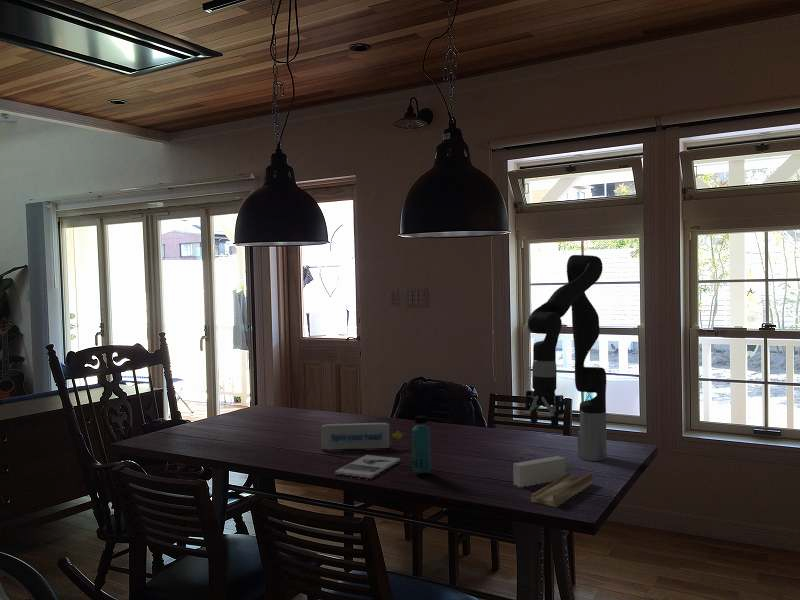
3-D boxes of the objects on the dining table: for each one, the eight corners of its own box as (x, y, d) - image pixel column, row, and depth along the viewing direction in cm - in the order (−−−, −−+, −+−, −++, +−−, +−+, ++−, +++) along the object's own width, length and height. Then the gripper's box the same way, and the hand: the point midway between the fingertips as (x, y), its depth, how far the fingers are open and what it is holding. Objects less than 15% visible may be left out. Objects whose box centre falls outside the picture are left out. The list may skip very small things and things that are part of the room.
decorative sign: (321, 451, 253) (320, 426, 253) (322, 449, 257) (321, 424, 257) (403, 449, 254) (402, 424, 254) (402, 447, 258) (402, 422, 258)
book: (370, 481, 215) (370, 475, 215) (335, 476, 221) (334, 471, 221) (399, 463, 236) (399, 458, 236) (366, 459, 242) (366, 454, 242)
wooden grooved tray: (531, 501, 190) (530, 490, 190) (568, 479, 210) (568, 469, 210) (556, 507, 185) (556, 495, 185) (591, 484, 205) (591, 473, 205)
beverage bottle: (431, 471, 223) (430, 413, 222) (431, 477, 216) (430, 417, 216) (412, 471, 223) (411, 414, 223) (412, 477, 216) (411, 418, 216)
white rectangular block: (513, 485, 207) (512, 463, 206) (557, 476, 214) (557, 455, 214) (520, 488, 203) (519, 466, 203) (565, 479, 211) (564, 458, 211)
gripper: (569, 376, 200) (569, 428, 200) (536, 371, 212) (535, 421, 212) (553, 377, 196) (552, 430, 196) (519, 373, 208) (519, 423, 208)
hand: (544, 425), depth 204 cm, fingers open, 8 cm apart
